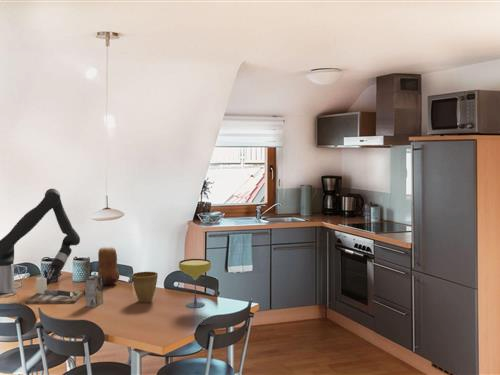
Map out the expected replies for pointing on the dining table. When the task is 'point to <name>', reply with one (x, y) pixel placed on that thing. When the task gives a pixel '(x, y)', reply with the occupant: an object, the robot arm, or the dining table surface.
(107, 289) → the dining table surface
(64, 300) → the board
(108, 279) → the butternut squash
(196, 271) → the cocktail glass
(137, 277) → the plant pot
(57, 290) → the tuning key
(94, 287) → the coffee box
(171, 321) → the dining table surface
